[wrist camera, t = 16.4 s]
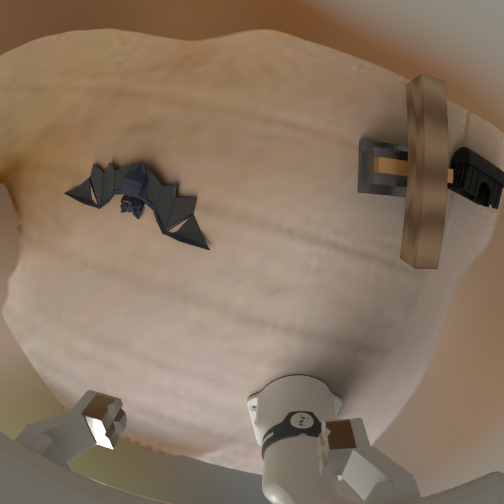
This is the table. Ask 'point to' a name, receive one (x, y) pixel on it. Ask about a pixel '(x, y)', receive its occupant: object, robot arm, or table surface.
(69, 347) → the table surface
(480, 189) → the end cap
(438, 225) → the walnut beam
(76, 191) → the decorative bat
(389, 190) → the fulcrum stand
